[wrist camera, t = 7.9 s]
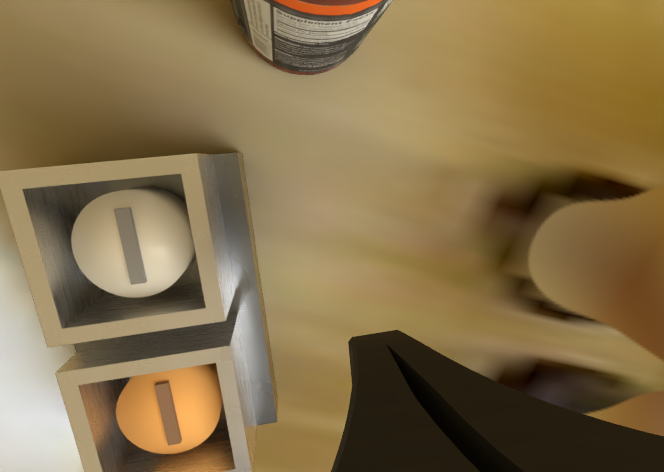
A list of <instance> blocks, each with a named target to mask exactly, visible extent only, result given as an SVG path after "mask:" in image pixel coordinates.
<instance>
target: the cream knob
mask: <svg viewBox="0 0 664 472" xmlns="http://www.w3.org/2000/svg"><path fill="white" fill-rule="evenodd" d="M71 243H72V250H73V254H74V257H75V260H76V262H77V264H78V266H79V268H80V269H81V271H82V272H83V273H84V275H85V276H86V277H87V278H88V279H89V280H90V281H91V282H93V283H94V284H95V285H97V286H98V287H99V288H101V289H103V290H105V291H107V292H109V293H112V294H115V295H118V296H123V297H132V298H138V297H147V296H151V295H154V294H157V293H160V292H162V291H164V290H165V289H167V288H169V287H170V286H171V285H172V284H174V283H175V282H176V281H177V280H178V279H179V277H180V276H181V275H182V274H183V273H184V271H185V270H186V269H187V268H188V267H189V265H190V264H191V263H192V262H193V260H194V259H195V257H196V252H195V246H194V241H193V236H192V230H191V225H190V219H189V214H188V208H187V203H186V202H185V201H184V200H182V199H181V198H180V197H178V196H177V195H175V194H174V193H171V192H169V191H167V190H164V189H161V188H156V187H136V188H131V189H126V190H120V191H115V192H111V193H107V194H104V195H102V196H100V197H98V198H96V199H94V200H93V201H91V202H90V203H89V204H88V205H87V206H85V208H84V209H83V210H82V211H81V212H80V214H79V215H78V217H77V219H76V221H75V223H74V226H73V230H72V237H71Z"/></svg>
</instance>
